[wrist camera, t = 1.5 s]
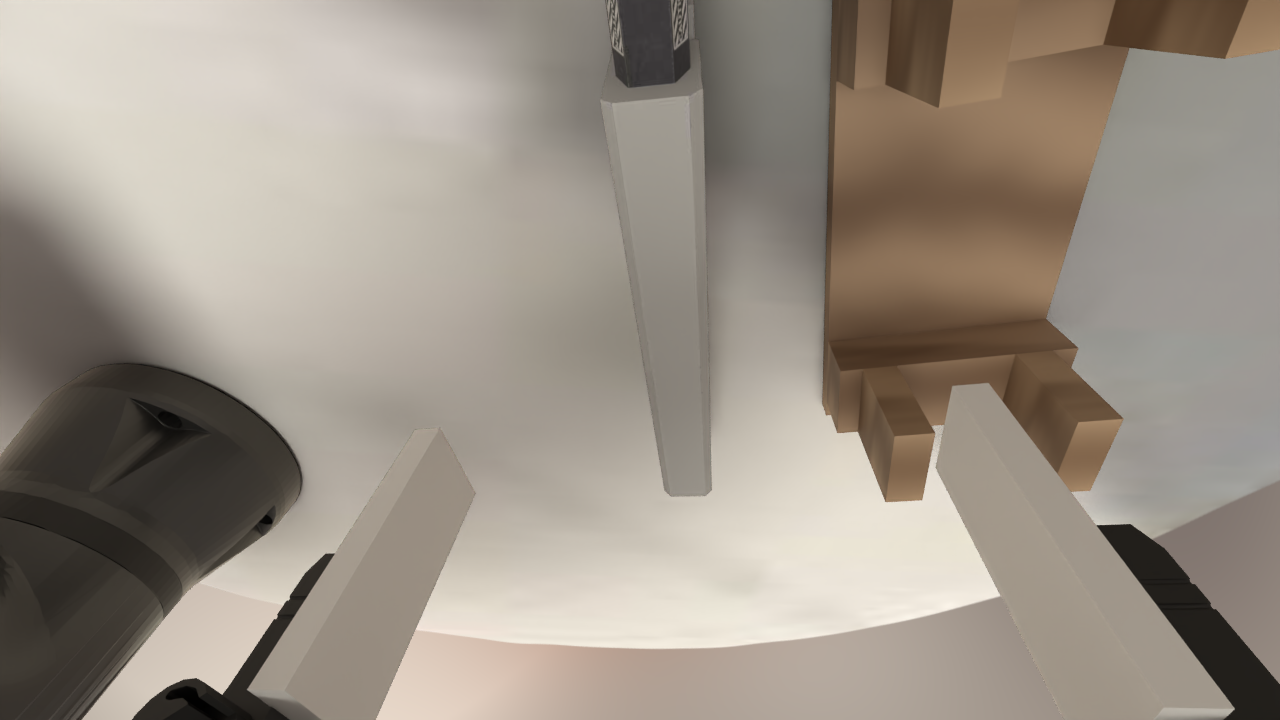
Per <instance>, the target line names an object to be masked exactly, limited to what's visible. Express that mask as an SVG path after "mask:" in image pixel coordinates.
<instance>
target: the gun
mask: <svg viewBox="0 0 1280 720" xmlns="http://www.w3.org/2000/svg"><path fill="white" fill-rule="evenodd" d="M605 2H606V9H607V16H608V23H609V30H610V38H611V45H612V54H611V58H610V62H609V66H608V70H607V75H606V79H605V83H604V87H603V91H602V95H601V99H600V103H601V109H602V115H603V121H604V127H605V133H606V139H607V145H608V151H609V157H610V163H611V169H612V175H613V181H614V187H615V193H616V199H617V206H618V212H619V218H620V224H621V230H622V236H623V242H624V248H625V254H626V260H627V266H628V272H629V278H630V284H631V290H632V296H633V302H634V308H635V315H636V321H637V327H638V333H639V339H640V345H641V351H642V357H643V363H644V369H645V375H646V381H647V387H648V393H649V399H650V405H651V411H652V418H653V424H654V430H655V436H656V442H657V448H658V454H659V460H660V466H661V472H662V478H663V484H664V490H665V491H666V492H667V493H668V494H669V495H670V496H706V495H707V494H708V493H709V492H710V491H711V490H712V482H711V435H710V389H709V342H708V296H707V249H706V203H705V156H704V110H703V84H702V72H701V59H700V47H699V39H695V30H694V1H693V0H605Z"/></svg>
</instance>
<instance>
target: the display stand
mask: <svg viewBox="0 0 1280 720" xmlns="http://www.w3.org/2000/svg"><path fill="white" fill-rule="evenodd" d="M1129 48H1136V49H1145V50H1154V51H1162V52H1171V53H1180V54H1188V55H1197V56H1206V57H1214V58H1223V59H1226V58H1232V57H1238V56H1244V55H1250V54H1255V53H1261V52H1267V51H1273V50H1278V49H1280V0H832V37H831V78H830V118H829V159H828V199H827V239H826V280H825V320H824V361H823V401H822V404H823V407H824V410H825V413H826V415H831V416H832V419H833V422H834V424H835V427H836V430H837V433H845V432H858V433H859V436H860V438H861V441H862V443H863V446H864V448H865V451H866V453H867V456H868V459H869V461H870V464H871V466H872V469H873V471H874V474H875V476H876V479H877V481H878V484H879V486H880V489H881V492H882V494H883V497H884V499H885V502H897V501H915V500H922V498H923V493H924V488H925V483H926V478H927V473H928V468H929V463H930V457H931V452H932V447H933V442H934V437H935V432H934V430H933V428H932V427H931V426H934V425H944V424H945V420H946V415H947V410H948V405H949V400H950V395H951V390H952V386H957V385H970V384H982V383H989V384H990V386H991V387H992V388H993V390H994V391H995V392H996V393H997V395H998V396H999V397H1000V399H1001V400H1002V401H1003V403H1004V404H1005V405H1006V407H1007V408H1008V409H1009V411H1010V412H1011V413H1012V415H1013V416H1014V417H1015V419H1016V420H1017V421H1018V423H1019V424H1020V425H1021V427H1022V428H1023V429H1024V431H1025V432H1026V433H1027V434H1028V436H1029V437H1030V438H1031V440H1032V441H1033V442H1034V444H1035V445H1036V446H1037V448H1038V449H1039V450H1040V452H1041V453H1042V454H1043V456H1044V457H1045V458H1046V460H1047V461H1048V462H1049V464H1050V465H1051V466H1052V468H1053V469H1054V470H1055V472H1056V473H1057V474H1058V476H1059V477H1060V478H1061V479H1062V481H1063V482H1064V483H1065V485H1066V486H1067V487H1068V489H1069V490H1070V491H1071V492H1075V491H1090V490H1091V488H1092V485H1093V483H1094V481H1095V479H1096V477H1097V475H1098V473H1099V470H1100V468H1101V466H1102V464H1103V462H1104V460H1105V458H1106V456H1107V453H1108V451H1109V449H1110V447H1111V445H1112V443H1113V441H1114V438H1115V436H1116V434H1117V432H1118V430H1119V428H1120V426H1121V423H1122V421H1123V418H1122V417H1121V416H1120V415H1119V414H1118V413H1117V412H1116V411H1115V410H1114V409H1113V408H1112V407H1111V406H1110V405H1109V404H1108V403H1107V402H1106V401H1105V400H1104V399H1103V398H1102V397H1101V396H1100V395H1098V394H1097V393H1096V392H1095V391H1094V390H1093V389H1092V388H1091V387H1090V386H1089V385H1088V384H1087V383H1086V382H1085V381H1084V380H1083V379H1082V378H1081V377H1080V376H1079V375H1078V374H1077V373H1076V372H1075V371H1074V370H1073V369H1072V368H1071V367H1072V364H1073V361H1074V359H1075V356H1076V353H1077V350H1078V347H1077V346H1075V345H1074V344H1073V343H1072V342H1071V341H1070V340H1069V339H1068V338H1067V337H1065V336H1064V335H1063V334H1062V333H1061V332H1060V331H1059V330H1058V329H1057V328H1055V327H1054V326H1053V325H1052V324H1051V323H1050V322H1049V321H1048V320H1046V317H1047V313H1048V310H1049V307H1050V304H1051V300H1052V297H1053V294H1054V291H1055V287H1056V284H1057V281H1058V278H1059V275H1060V271H1061V268H1062V265H1063V262H1064V258H1065V255H1066V252H1067V249H1068V245H1069V242H1070V239H1071V236H1072V232H1073V229H1074V226H1075V223H1076V219H1077V216H1078V213H1079V210H1080V206H1081V203H1082V200H1083V197H1084V193H1085V190H1086V187H1087V184H1088V181H1089V177H1090V174H1091V171H1092V168H1093V164H1094V161H1095V158H1096V155H1097V151H1098V148H1099V145H1100V142H1101V138H1102V135H1103V132H1104V129H1105V125H1106V122H1107V119H1108V116H1109V112H1110V109H1111V106H1112V103H1113V99H1114V96H1115V93H1116V90H1117V86H1118V83H1119V80H1120V77H1121V74H1122V70H1123V67H1124V64H1125V61H1126V57H1127V54H1128V51H1129Z"/></svg>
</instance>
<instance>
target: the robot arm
mask: <svg viewBox="0 0 1280 720" xmlns="http://www.w3.org/2000/svg"><path fill="white" fill-rule="evenodd" d="M936 469H937V471H938V473H939V475H940V477H941V479H942V481H943V483H944V485H945V487H946V489H947V491H948V493H949V495H950V497H951V499H952V501H953V503H954V505H955V507H956V509H957V511H958V513H959V515H960V517H961V519H962V521H963V523H964V525H965V527H966V528H967V530H968V532H969V534H970V536H971V538H972V540H973V542H974V544H975V546H976V548H977V550H978V552H979V554H980V556H981V558H982V560H983V562H984V564H985V566H986V568H987V570H988V572H989V574H990V576H991V578H992V580H993V582H994V584H995V586H996V588H997V589H998V591H999V593H1000V595H1001V597H1002V599H1003V601H1004V603H1005V605H1006V607H1007V609H1008V611H1009V613H1010V615H1011V617H1012V619H1013V621H1014V623H1015V625H1016V627H1017V629H1018V631H1019V633H1020V635H1021V637H1022V638H1023V640H1024V643H1025V645H1026V647H1027V648H1028V650H1029V652H1030V654H1031V656H1032V658H1033V660H1034V662H1035V664H1036V666H1037V668H1038V670H1039V672H1040V674H1041V676H1042V678H1043V680H1044V682H1045V684H1046V686H1047V688H1048V690H1049V692H1050V694H1051V696H1052V697H1053V700H1054V702H1055V703H1056V706H1057V708H1058V709H1059V711H1060V713H1061V715H1062V717H1063V719H1064V720H1280V684H1279V683H1278V682H1277V681H1276V679H1274V677H1273V676H1272V675H1271V674H1270V672H1269V671H1268V670H1267V669H1266V668H1265V666H1264V665H1263V664H1262V663H1261V662H1260V660H1259V659H1258V658H1257V657H1256V656H1255V655H1254V653H1253V652H1252V651H1251V650H1250V649H1249V648H1248V646H1247V645H1246V644H1245V643H1244V642H1243V640H1242V639H1241V638H1240V637H1239V636H1238V635H1237V633H1236V632H1235V631H1234V630H1233V629H1232V627H1231V626H1230V625H1229V624H1228V623H1227V622H1226V620H1225V619H1224V618H1223V617H1222V616H1221V615H1220V613H1219V612H1218V611H1217V610H1216V609H1213V608H1212V607H1211V605H1210V604H1211V603H1210V602H1209V600H1208V599H1207V598H1206V597H1205V596H1204V594H1203V593H1202V592H1201V591H1200V590H1199V589H1198V587H1197V586H1196V585H1195V584H1192V583H1191V582H1190V580H1189V579H1190V578H1189V577H1188V576H1187V574H1186V573H1185V572H1184V571H1183V570H1182V568H1181V567H1179V565H1178V564H1177V563H1176V562H1175V560H1174V559H1173V558H1172V557H1171V556H1170V555H1169V553H1168V552H1167V551H1166V550H1165V549H1164V548H1163V547H1161V546H1160V545H1159V544H1157V543H1156V542H1155V541H1153V540H1152V539H1150V538H1149V537H1148V536H1146V535H1145V534H1143V533H1142V532H1141V531H1139V530H1138V529H1136V528H1135V527H1134V526H1132V525H1131V524H1123V525H1096V524H1095V523H1094V522H1093V520H1092V519H1091V518H1090V517H1089V515H1088V514H1087V513H1086V511H1085V510H1084V509H1083V507H1082V506H1081V505H1080V503H1079V502H1078V501H1077V499H1076V498H1075V497H1074V495H1073V494H1072V493H1071V491H1070V490H1069V489H1068V487H1067V486H1066V485H1065V483H1064V482H1063V481H1062V479H1061V478H1060V477H1059V476H1058V474H1057V473H1056V472H1055V470H1054V469H1053V468H1052V466H1051V465H1050V464H1049V462H1048V461H1047V460H1046V458H1045V457H1044V456H1043V454H1042V453H1041V452H1040V450H1039V449H1038V448H1037V446H1036V445H1035V444H1034V442H1033V441H1032V440H1031V438H1030V437H1029V436H1028V434H1027V433H1026V432H1025V431H1024V429H1023V428H1022V427H1021V425H1020V424H1019V423H1018V421H1017V420H1016V419H1015V417H1014V416H1013V415H1012V413H1011V412H1010V411H1009V409H1008V408H1007V407H1006V405H1005V404H1004V403H1003V401H1002V400H1001V399H1000V397H999V396H998V395H997V393H996V392H995V391H994V390H993V388H992V387H991V386H990V384H989V383H982V384H970V385H957V386H952V390H951V395H950V400H949V405H948V410H947V415H946V420H945V424H944V429H943V434H942V439H941V444H940V449H939V454H938V459H937V463H936ZM300 488H301V478H300V473H299V469H298V466H297V464H296V462H295V460H294V458H293V456H292V454H291V453H290V451H289V449H288V448H287V447H286V445H285V444H284V443H283V441H282V440H281V439H280V438H279V437H278V435H277V434H276V433H275V432H274V431H273V430H272V429H271V428H270V427H269V426H268V425H267V424H265V423H264V422H263V421H262V420H261V419H260V418H259V417H257V416H256V415H255V414H254V413H252V412H251V411H250V410H248V409H247V408H245V407H244V406H242V405H241V404H239V403H238V402H236V401H235V400H233V399H232V398H230V397H228V396H227V395H225V394H223V393H221V392H219V391H218V390H216V389H214V388H212V387H210V386H208V385H205V384H203V383H201V382H199V381H196V380H194V379H191V378H189V377H186V376H183V375H180V374H177V373H174V372H171V371H167V370H163V369H159V368H155V367H150V366H144V365H135V364H111V365H104V366H100V367H96V368H93V369H91V370H89V371H87V372H85V373H83V374H82V375H80V376H79V377H77V378H75V379H74V380H72V381H71V382H69V383H67V384H66V385H64V386H63V387H61V388H60V389H58V390H56V391H55V392H54V393H52V394H51V395H50V396H49V397H48V398H47V399H46V400H45V401H44V402H43V403H42V404H41V405H40V406H39V408H38V409H37V410H36V411H35V413H34V414H33V415H32V416H31V418H30V419H29V420H28V421H27V423H26V424H25V425H24V427H23V428H22V429H21V430H20V432H19V433H18V434H17V435H16V437H15V438H14V439H13V440H12V442H11V443H10V444H9V445H8V447H7V448H6V449H5V450H4V452H3V453H2V454H1V455H0V720H82V719H83V717H84V716H85V715H86V714H87V713H88V711H89V710H90V709H91V708H92V707H93V705H94V704H95V703H96V702H97V700H98V699H99V698H100V697H101V695H102V694H103V693H104V692H105V691H106V689H107V688H108V687H109V686H110V684H111V683H112V682H113V681H114V680H115V678H116V677H117V676H118V675H119V674H120V672H121V671H122V670H123V669H124V667H125V666H126V665H127V664H128V663H129V661H130V660H131V659H132V658H133V656H134V655H135V654H136V653H137V652H138V650H139V649H140V648H141V647H142V645H143V644H144V643H145V642H146V640H147V639H148V638H149V637H150V636H151V634H152V633H153V632H154V631H155V630H156V628H157V627H158V626H159V625H160V623H161V622H162V621H163V619H164V618H165V617H166V616H167V615H168V613H169V612H170V611H171V610H172V609H173V607H174V606H175V605H176V604H177V603H178V602H179V601H180V600H181V598H182V597H183V596H184V595H185V594H186V593H187V591H188V590H189V589H191V588H192V587H193V586H194V585H195V584H197V583H198V582H200V581H201V580H202V579H204V578H205V577H207V576H208V575H209V574H211V573H212V572H214V571H215V570H216V569H218V568H219V567H221V566H222V565H223V564H225V563H226V562H227V561H229V560H230V559H232V558H233V557H234V556H236V555H237V554H239V553H240V552H241V551H243V550H244V549H246V548H247V547H248V546H250V545H251V544H253V543H254V542H255V541H257V540H258V539H260V538H261V537H262V536H264V535H265V534H267V533H268V532H269V531H270V530H272V529H273V528H274V527H275V526H276V525H277V524H278V523H279V521H280V520H281V519H282V518H283V516H284V515H285V514H286V512H287V511H288V510H289V509H290V507H291V506H292V505H293V504H294V502H295V501H296V499H297V498H298V495H299V493H300ZM475 494H476V493H475V491H474V489H473V487H472V486H471V484H470V482H469V480H468V478H467V476H466V475H465V473H464V471H463V469H462V467H461V465H460V463H459V462H458V460H457V458H456V456H455V454H454V452H453V451H452V449H451V447H450V445H449V443H448V441H447V440H446V438H445V436H444V434H443V432H442V430H441V428H428V429H416V430H415V431H414V432H413V434H412V435H411V437H410V438H409V440H408V441H407V443H406V445H405V446H404V448H403V449H402V451H401V452H400V454H399V455H398V457H397V459H396V460H395V462H394V463H393V465H392V466H391V468H390V469H389V471H388V472H387V474H386V476H385V477H384V479H383V480H382V482H381V483H380V485H379V486H378V488H377V489H376V491H375V493H374V494H373V496H372V497H371V499H370V500H369V502H368V503H367V505H366V506H365V508H364V510H363V511H362V513H361V514H360V516H359V517H358V519H357V520H356V522H355V524H354V525H353V527H352V528H351V530H350V531H349V533H348V534H347V536H346V537H345V539H344V541H343V542H342V544H341V545H340V547H339V548H338V550H337V551H336V553H334V554H325V555H324V556H323V557H322V558H321V559H320V560H319V561H318V562H317V563H316V564H315V565H314V566H312V567H311V568H310V569H309V570H308V571H307V572H306V573H305V574H304V576H303V577H302V579H301V580H300V582H299V583H298V585H297V586H296V588H295V589H294V591H293V592H292V594H291V595H290V600H289V601H286V602H285V604H284V605H283V607H282V609H281V610H280V611H279V613H278V614H277V615H278V617H277V619H274V620H273V622H272V623H271V625H270V626H269V628H268V629H267V631H266V632H265V634H264V635H263V637H262V638H261V639H260V641H259V642H258V644H257V646H256V647H255V648H254V650H253V651H252V653H251V654H250V656H249V657H248V659H247V660H246V662H245V663H244V665H243V666H242V668H241V669H240V671H239V672H238V674H237V675H236V676H235V678H234V680H233V681H232V683H231V684H230V685H229V687H228V688H227V689H226V691H225V692H224V693H223V695H221V694H220V693H219V692H217V691H216V690H214V689H213V688H211V687H210V686H208V685H207V684H206V683H204V682H202V681H200V680H199V679H197V678H195V679H187V680H182V681H180V682H178V683H175V684H173V685H171V686H169V687H167V688H166V689H164V690H163V691H162V692H160V693H159V694H157V695H156V696H155V697H153V698H152V699H151V700H150V701H149V702H148V703H147V704H146V705H145V706H144V707H143V708H142V709H141V710H140V711H139V712H138V713H137V714H136V715H135V716H134V718H133V719H132V720H376V718H377V715H378V713H379V711H380V709H381V706H382V704H383V702H384V700H385V697H386V695H387V693H388V691H389V688H390V686H391V684H392V682H393V679H394V677H395V675H396V672H397V670H398V668H399V666H400V663H401V661H402V659H403V657H404V654H405V652H406V650H407V648H408V645H409V643H410V640H411V639H412V636H413V634H414V632H415V629H416V627H417V625H418V623H419V620H420V618H421V616H422V614H423V611H424V609H425V607H426V605H427V602H428V600H429V598H430V596H431V593H432V591H433V589H434V586H435V584H436V582H437V580H438V577H439V575H440V573H441V571H442V568H443V566H444V564H445V562H446V559H447V557H448V555H449V553H450V550H451V548H452V546H453V543H454V541H455V539H456V537H457V534H458V532H459V530H460V528H461V525H462V523H463V521H464V519H465V516H466V514H467V512H468V510H469V507H470V505H471V503H472V501H473V498H474V496H475Z"/></svg>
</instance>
